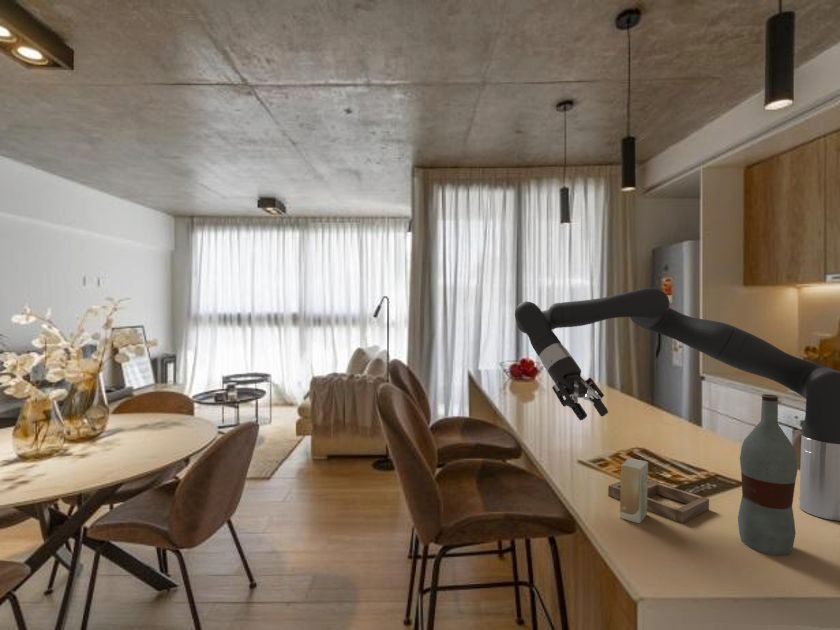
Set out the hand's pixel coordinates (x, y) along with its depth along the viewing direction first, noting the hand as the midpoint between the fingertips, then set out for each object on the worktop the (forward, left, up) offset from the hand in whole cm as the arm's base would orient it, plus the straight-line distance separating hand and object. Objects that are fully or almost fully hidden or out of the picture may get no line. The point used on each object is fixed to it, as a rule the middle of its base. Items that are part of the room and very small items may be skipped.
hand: (594, 416), depth 118 cm
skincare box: (-12, +3, -20) cm, 24 cm away
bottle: (-34, -7, -20) cm, 40 cm away
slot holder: (-11, -9, -20) cm, 25 cm away
